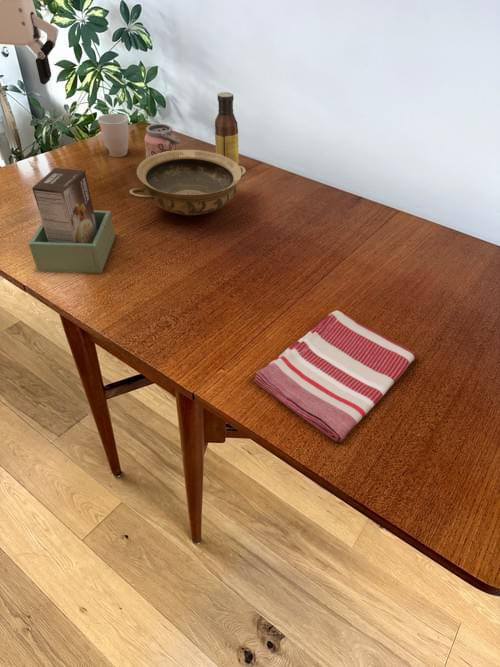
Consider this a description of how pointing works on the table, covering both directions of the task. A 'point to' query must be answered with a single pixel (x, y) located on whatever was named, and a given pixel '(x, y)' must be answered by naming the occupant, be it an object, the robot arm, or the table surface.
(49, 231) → the coffee box
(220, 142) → the sauce bottle
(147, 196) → the ceramic bowl
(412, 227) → the table surface
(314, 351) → the dish towel
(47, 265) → the bin
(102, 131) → the cup
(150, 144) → the pink jar
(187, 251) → the table surface
